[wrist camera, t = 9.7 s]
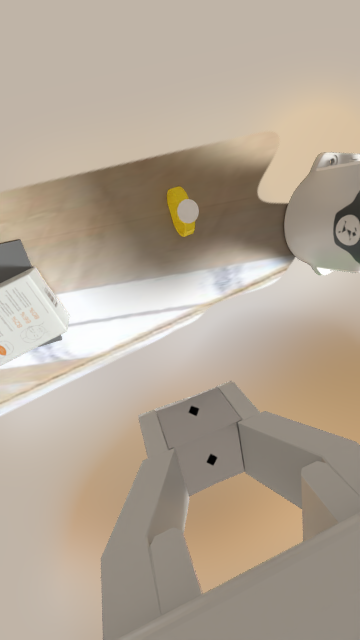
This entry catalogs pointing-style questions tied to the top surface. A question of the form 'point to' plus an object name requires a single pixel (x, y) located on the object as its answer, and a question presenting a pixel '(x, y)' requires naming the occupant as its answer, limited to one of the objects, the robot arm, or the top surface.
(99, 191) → the top surface
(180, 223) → the watch
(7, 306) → the small box
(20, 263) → the mat
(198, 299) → the top surface
